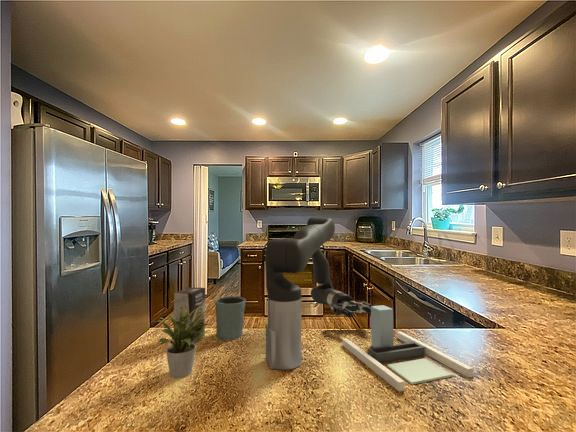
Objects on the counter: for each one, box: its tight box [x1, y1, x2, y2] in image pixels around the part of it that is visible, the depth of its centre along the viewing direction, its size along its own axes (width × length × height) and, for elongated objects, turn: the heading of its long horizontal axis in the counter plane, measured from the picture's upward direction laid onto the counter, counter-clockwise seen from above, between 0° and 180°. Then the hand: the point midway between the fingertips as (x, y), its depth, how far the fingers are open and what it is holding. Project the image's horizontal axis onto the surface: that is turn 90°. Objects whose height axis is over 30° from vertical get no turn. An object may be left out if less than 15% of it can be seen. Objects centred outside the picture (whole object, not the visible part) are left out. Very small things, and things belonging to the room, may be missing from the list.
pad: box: [386, 358, 453, 385], centre depth 72 cm, size 12×9×1 cm
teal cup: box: [214, 295, 246, 341], centre depth 97 cm, size 10×10×12 cm
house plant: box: [153, 306, 212, 379], centre depth 70 cm, size 14×14×16 cm
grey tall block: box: [370, 304, 395, 348], centre depth 87 cm, size 5×5×12 cm
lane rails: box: [342, 331, 474, 392], centre depth 79 cm, size 22×26×2 cm
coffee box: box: [172, 287, 206, 344], centre depth 93 cm, size 9×6×16 cm
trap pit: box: [367, 342, 426, 364], centre depth 80 cm, size 16×4×2 cm, turn 107°
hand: (362, 313), depth 97 cm, fingers open, 8 cm apart
